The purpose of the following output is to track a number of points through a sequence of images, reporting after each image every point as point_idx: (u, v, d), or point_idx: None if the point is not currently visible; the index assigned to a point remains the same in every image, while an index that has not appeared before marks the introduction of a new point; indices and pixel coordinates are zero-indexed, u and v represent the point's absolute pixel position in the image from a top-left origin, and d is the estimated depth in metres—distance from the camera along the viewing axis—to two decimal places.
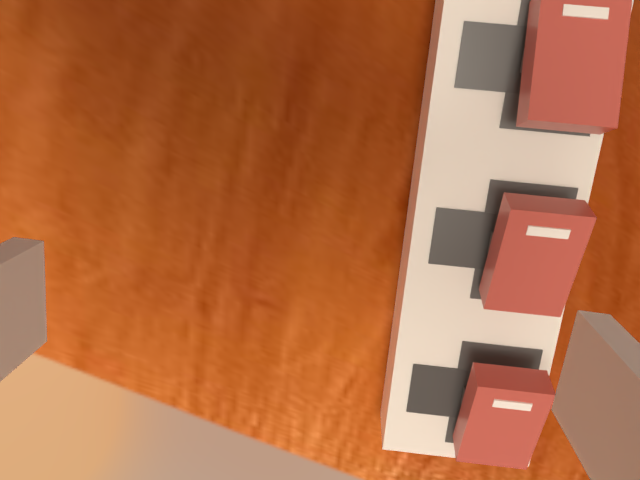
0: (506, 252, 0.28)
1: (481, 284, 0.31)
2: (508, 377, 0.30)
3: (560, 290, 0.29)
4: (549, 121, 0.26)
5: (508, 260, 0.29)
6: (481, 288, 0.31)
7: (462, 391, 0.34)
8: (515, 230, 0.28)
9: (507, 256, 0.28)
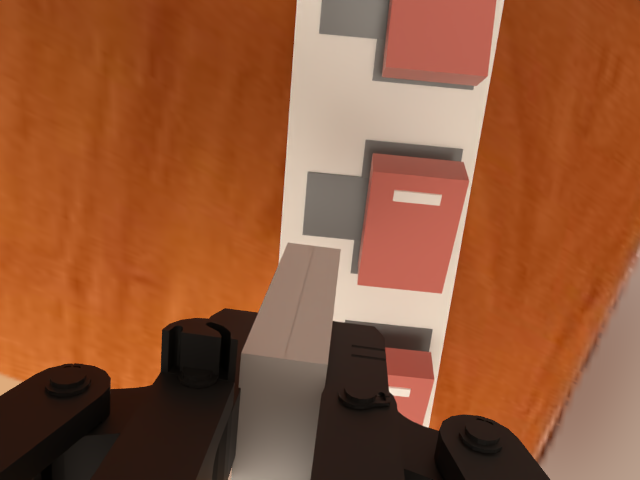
0: (374, 221, 0.25)
1: (359, 257, 0.28)
2: (386, 360, 0.28)
3: (438, 263, 0.26)
4: (410, 69, 0.22)
5: (377, 230, 0.25)
6: (358, 262, 0.28)
7: None
8: (381, 196, 0.24)
9: (375, 225, 0.25)
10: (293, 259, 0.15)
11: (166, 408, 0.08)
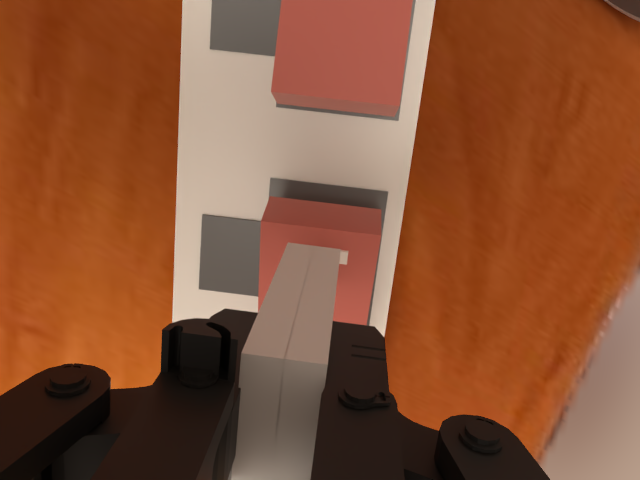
0: (268, 280, 0.20)
1: None
2: None
3: None
4: (302, 94, 0.18)
5: None
6: None
7: None
8: (273, 250, 0.20)
9: None
10: (294, 259, 0.15)
11: (166, 408, 0.08)
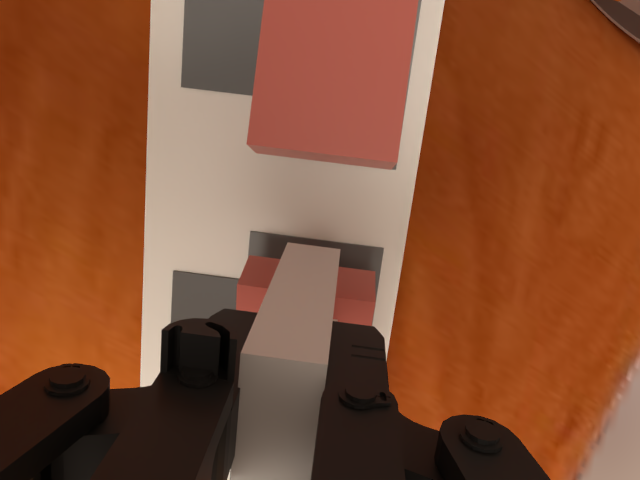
0: None
1: None
2: None
3: None
4: (283, 148, 0.15)
5: None
6: None
7: None
8: None
9: None
10: (293, 259, 0.15)
11: (165, 408, 0.08)
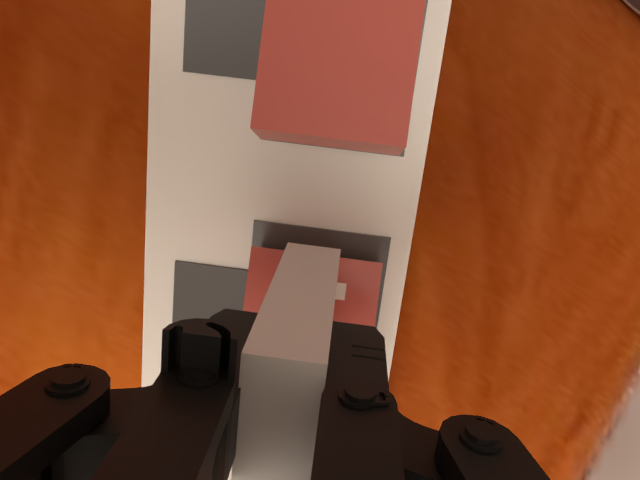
0: None
1: None
2: None
3: None
4: (288, 132, 0.15)
5: None
6: None
7: None
8: (262, 284, 0.17)
9: None
10: (294, 259, 0.15)
11: (166, 408, 0.08)
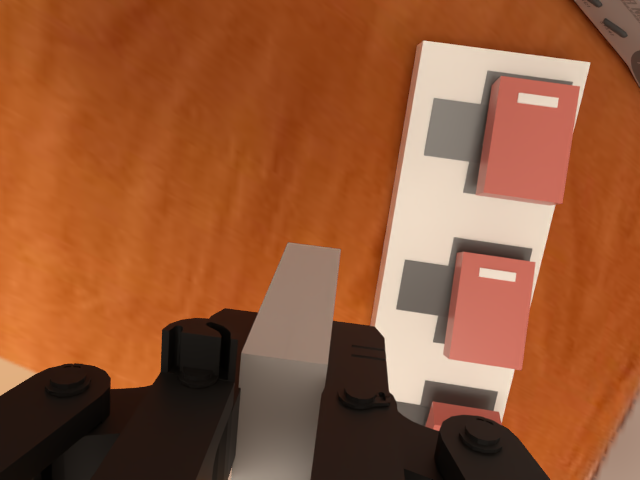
0: (464, 295, 0.32)
1: (445, 346, 0.33)
2: None
3: (516, 337, 0.32)
4: (502, 194, 0.29)
5: (466, 303, 0.32)
6: (445, 348, 0.33)
7: None
8: (469, 272, 0.32)
9: (465, 299, 0.32)
10: (294, 259, 0.15)
11: (166, 408, 0.08)
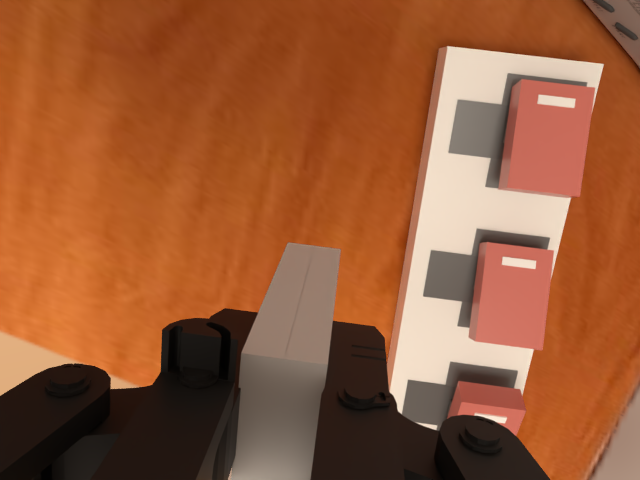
0: (488, 282, 0.34)
1: (470, 329, 0.36)
2: (487, 394, 0.36)
3: (537, 320, 0.34)
4: (524, 189, 0.32)
5: (490, 290, 0.34)
6: (470, 332, 0.36)
7: (449, 404, 0.40)
8: (493, 261, 0.34)
9: (489, 286, 0.34)
10: (294, 259, 0.15)
11: (166, 408, 0.08)
